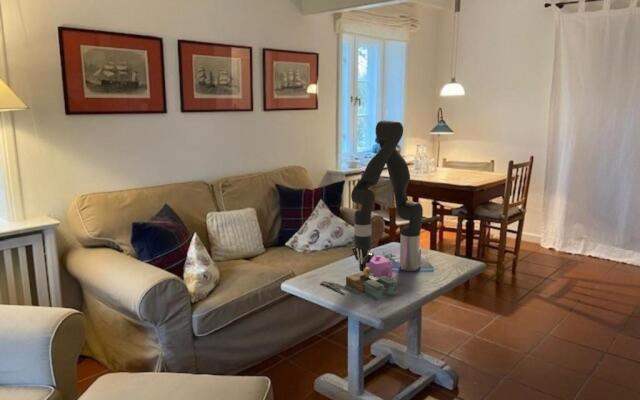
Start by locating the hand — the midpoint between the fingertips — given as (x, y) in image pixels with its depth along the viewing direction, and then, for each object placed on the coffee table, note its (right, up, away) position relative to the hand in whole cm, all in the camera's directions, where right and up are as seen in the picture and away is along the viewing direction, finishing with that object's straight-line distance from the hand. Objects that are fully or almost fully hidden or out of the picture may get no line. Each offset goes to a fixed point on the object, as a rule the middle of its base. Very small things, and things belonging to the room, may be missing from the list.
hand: (362, 270), depth 217 cm
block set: (+3, -8, -3) cm, 9 cm away
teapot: (+8, -5, +12) cm, 15 cm away
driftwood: (-11, -8, -1) cm, 14 cm away
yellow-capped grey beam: (+3, -4, -4) cm, 6 cm away
